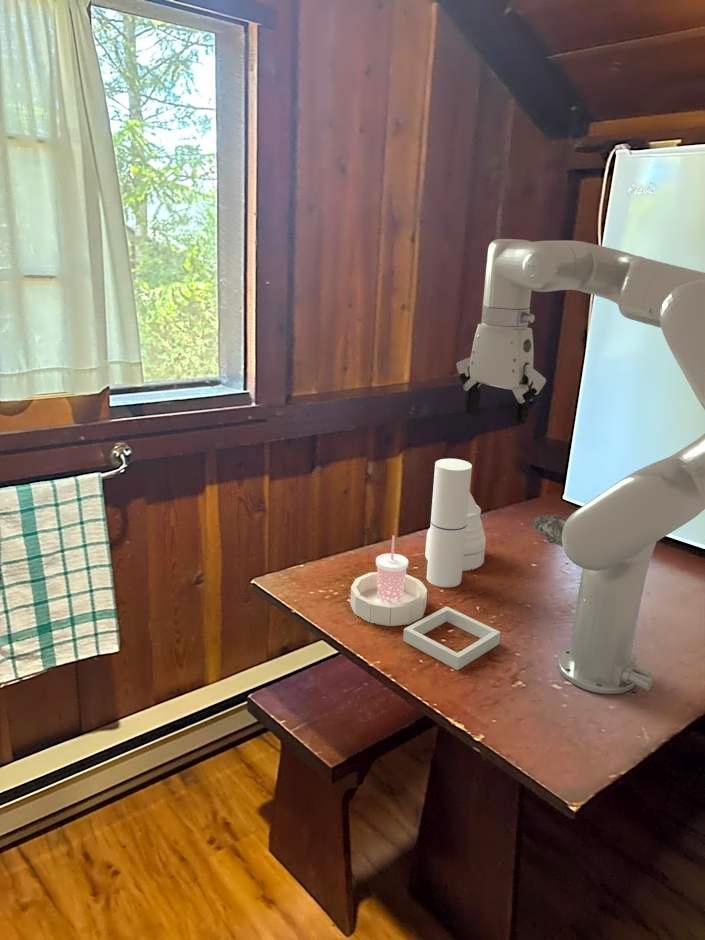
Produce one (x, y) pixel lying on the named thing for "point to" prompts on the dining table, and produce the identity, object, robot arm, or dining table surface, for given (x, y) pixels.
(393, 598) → the beverage cup
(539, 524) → the geode
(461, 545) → the cylindrical container
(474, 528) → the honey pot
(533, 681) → the dining table surface
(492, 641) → the open square frame
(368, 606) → the bowl
